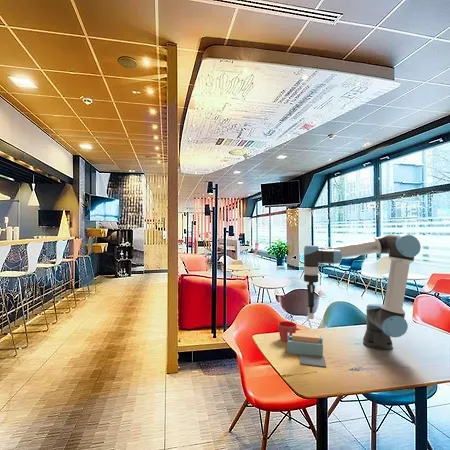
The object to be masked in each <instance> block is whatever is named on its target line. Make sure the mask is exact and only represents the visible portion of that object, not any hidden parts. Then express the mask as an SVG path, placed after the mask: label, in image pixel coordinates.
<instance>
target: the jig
mask: <svg viewBox="0 0 450 450" xmlns="http://www.w3.org/2000/svg"><path fill="white" fill-rule="evenodd" d="M286 343H287V345H286V347H287V349H286V350H287V351H286V352H287V354H292V355H293V354H294V355H299V356H300V355H306V356H315V357H324V344H323V343H324V340H323V335H319V343H313V342H303V341H293V340H292V336H289V333H288V341H287V342H286Z"/></svg>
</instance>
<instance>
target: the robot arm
mask: <svg viewBox="0 0 450 450" xmlns="http://www.w3.org/2000/svg"><path fill="white" fill-rule="evenodd" d="M420 252H421V242H420V240H419V239H418V238H417V237H416V236H415V235H412V234H407V233H391V234H387V235H383V236H382V235H381V236H377V237H374V238H373V239H371V240H365V241H359V242H352V243H346V244H339V245H332V246H326V247H319V245H305V246H304V249H303V267H302V270H303V273H304V274H303V281H304V282H306V283H307V284H306V288H307V304H308V305H306V307H307V319H308V320H315V319H314V316H315V313H314V311H315V310H314V307H315V293H316V292H315V291H316V290H315V289H316V286H315V284H314V283H318V282H319V273H320V272H319V271H320V270H319V264H334V265H335V264H340V263H341V262H342V261H343V258H350V257H358V256H364V255H369V254H370V255H371V254H377V255H385V254H386V255H387V254H388V258H389V259H390V264H389V265H390V266H389V267H390V268H389V272H388V278H387V285H386V291H385V296H384V297H385V298H384V304H377V303H370V304H367V305H366V330H365V332H364V336H363V338H362V342H363V344H364V345H365V346H367V347H369V348H371V349H372V348H373V349H376V350H385V351H387V350H391V349H393V340H392V338H401V337H402V336H404V335H405V334H406V333H407V331H408V327H409V325H408V323H407V320H406V319H405V318H406V317H405V316H406V311H405V310H404V309H403V306H404V300H405V294H406V289H407V282H408V277H409V276H408V275H409V271H410V270H409V269H410V264H411V263H414V260H415V257H416V256H417V255H419V253H420Z"/></svg>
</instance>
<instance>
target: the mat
mask: <svg viewBox="0 0 450 450" xmlns="http://www.w3.org/2000/svg"><path fill="white" fill-rule="evenodd" d="M299 362H300V365H302V366H309V367H319V368H327V363H326V360H325V357H324V356H323V357H319V356H309V355H300V354H299Z"/></svg>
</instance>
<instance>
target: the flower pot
mask: <svg viewBox="0 0 450 450" xmlns="http://www.w3.org/2000/svg"><path fill="white" fill-rule="evenodd" d="M277 326H278V332H279V338H280V341H281V342H283V343H287V341H288V333H289V336H292V333H296V332H297V327H298V325H297V323H295V322H293V321H288V320H287V321H286V320H283V321H282V320H281V321H279V322H277ZM296 334H297V333H296Z"/></svg>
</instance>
